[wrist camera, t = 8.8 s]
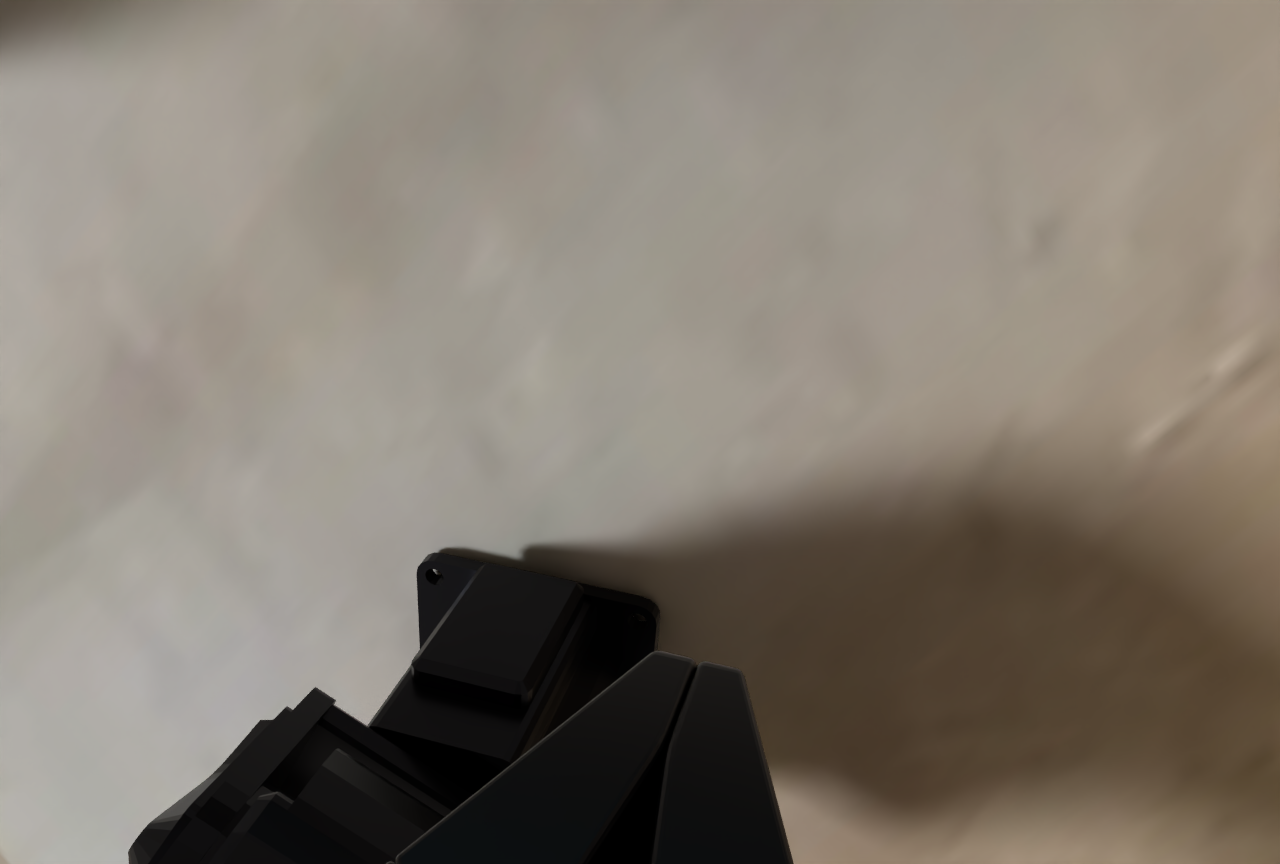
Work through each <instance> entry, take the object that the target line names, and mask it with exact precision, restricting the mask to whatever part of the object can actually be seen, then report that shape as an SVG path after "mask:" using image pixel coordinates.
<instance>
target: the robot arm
mask: <svg viewBox="0 0 1280 864" xmlns="http://www.w3.org/2000/svg"><path fill="white" fill-rule="evenodd" d="M433 569H436V570H438V571H439V572H440V573H441V574H442V576H443V577H441V576H439V575H437V574H436V573H435V572H434V571H433ZM417 590H418V613H419V636H420V650H419V652H418V653H417V654H416V656H415V657H414V659H413V661H412V664H411V666H410V667H409V669H408V670H407V671H406V673H405V674H404V676H403V677H402V678H401V680H400V681H399V682H398V684H397V685H396V687H395V688H394V689H393V691H392V692H391V694H390V695H389V696H388V698H387V699H386V701H385V702H384V703H383V705H382V706H381V708H380V709H379V710H378V712H377V713H376V714H375V716H374V717H373V719H372V720H371V721H370V723H369V724H368V726H366V725H365V724H363V723H362V722H360V721H359V720H357V719H355V718H354V717H352V716H351V715H349V714H348V713H346V712H345V711H343V710H342V709H340V708H338V707H337V706H335V705H334V703H335V702H336V700H335V699H333V698H331V697H330V696H328V695H327V694H325V693H324V692H322V691H321V690H319V689H318V688H316V687H315V688H314V689H313V690H312V691H311V692H310V693H309V694H308V695H307V696H306V697H305V698H304V699H303V700H302V701H301V702H300V703H299V704H298V705H297V706H296V708H295V709H294V710H292V709H291V708H289V707H286V708H285V709H284V710H283V711H282V712H281V713H280V714H279V715H278V716H277V717H276V718H275V719H274V720H260V721H259V722H258V724H257V725H256V726H255V727H254V728H253V729H252V731H251V732H250V733H249V734H248V735H247V736H246V738H245V739H244V740H243V741H242V742H241V743H240V744H239V746H238V747H237V748H236V749H235V750H234V751H233V753H232V754H231V755H230V756H229V757H228V758H227V759H226V760H225V762H224V763H223V764H222V765H221V766H220V767H219V768H218V769H217V770H216V771H215V772H214V773H213V774H212V775H211V776H210V777H209V778H207V779H206V780H205V781H204V782H202V783H201V784H200V785H199V786H197V787H196V788H195V789H193V790H192V791H191V792H189V793H188V794H187V795H186V796H184V797H183V798H182V799H180V800H179V801H178V802H176V803H175V804H174V805H172V806H171V807H170V808H169V809H167V810H166V811H165V812H163V813H162V814H161V815H159V816H158V817H157V818H155V819H154V820H153V821H152V822H150V823H149V824H148V825H147V827H146V828H145V829H144V830H143V831H142V832H141V834H140V835H139V836H138V837H137V839H136V840H135V842H134V843H133V844H132V846H131V848H130V849H129V852H128V856H129V864H794V863H793V859H792V855H791V852H790V848H789V844H788V840H787V836H786V833H785V829H784V825H783V821H782V817H781V814H780V810H779V806H778V802H777V798H776V795H775V791H774V787H773V783H772V779H771V776H770V772H769V768H768V764H767V760H766V757H765V753H764V749H763V745H762V741H761V738H760V734H759V730H758V726H757V722H756V719H755V715H754V711H753V707H752V703H751V700H750V696H749V692H748V688H747V684H746V680H745V677H744V675H743V673H742V671H741V670H739V669H737V668H734V667H729V666H725V665H721V664H716V663H712V662H707V661H703V662H701V663H700V664H699V665H698V666H697V665H696V662H695V661H694V660H693V659H692V658H690V657H685V656H681V655H677V654H672V653H668V652H663V651H657V647H658V636H659V626H660V610H659V609H658V607H657V605H656V604H655V603H654V602H652V601H651V600H650V599H647V598H645V597H642V596H637V595H633V594H628V593H623V592H619V591H614V590H610V589H605V588H600V587H596V586H591V585H586V584H582V583H577V582H574V581H570V580H565V579H561V578H556V577H552V576H547V575H542V574H538V573H533V572H528V571H524V570H519V569H515V568H510V567H505V566H501V565H496V564H491V563H485V562H480V561H475V560H471V559H466V558H461V557H457V556H452V555H448V554H443V553H432V554H429V555H428V556H427V557H426V558H425V559H424V561H423V562H422V563H421V564H420V565H419V567H418V569H417ZM632 614H640V615H642V616H643V617H644V618H645V619H646V621H640V620H638V619H636V618H635V617H634V616H633V615H632Z"/></svg>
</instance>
